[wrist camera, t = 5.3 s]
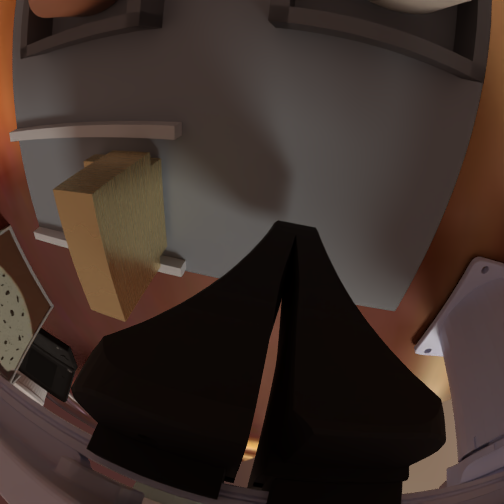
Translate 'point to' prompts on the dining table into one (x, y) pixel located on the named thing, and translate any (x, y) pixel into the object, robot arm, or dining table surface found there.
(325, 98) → the control panel
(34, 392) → the ramekin
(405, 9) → the cream button
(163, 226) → the tall mustard sponge block
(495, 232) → the dining table surface
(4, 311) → the food container
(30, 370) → the handheld gaming console
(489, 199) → the dining table surface
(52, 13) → the terracotta button
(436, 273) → the dining table surface
